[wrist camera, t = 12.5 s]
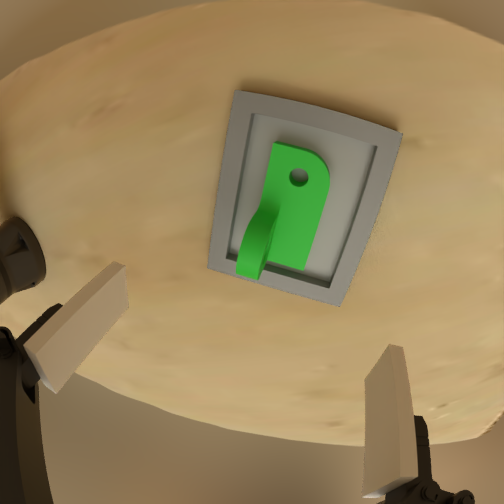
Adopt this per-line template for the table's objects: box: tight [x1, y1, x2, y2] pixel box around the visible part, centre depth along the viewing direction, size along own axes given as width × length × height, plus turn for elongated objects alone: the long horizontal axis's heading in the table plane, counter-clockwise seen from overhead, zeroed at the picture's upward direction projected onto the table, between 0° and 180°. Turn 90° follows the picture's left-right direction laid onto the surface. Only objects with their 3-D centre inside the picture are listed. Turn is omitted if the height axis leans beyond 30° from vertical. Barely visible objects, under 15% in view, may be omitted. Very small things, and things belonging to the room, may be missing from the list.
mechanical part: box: [236, 141, 330, 280], centre depth 26 cm, size 12×6×8 cm, turn 169°
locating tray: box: [207, 90, 403, 307], centre depth 29 cm, size 16×20×2 cm
